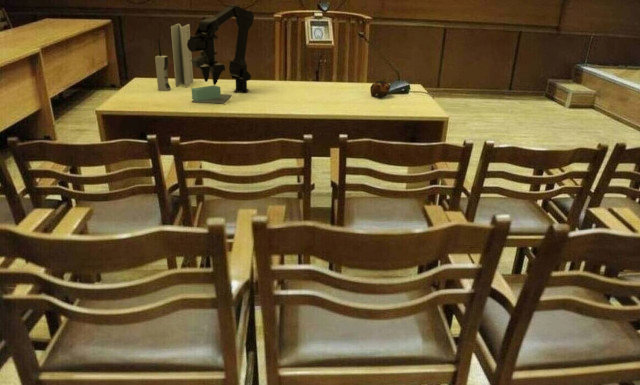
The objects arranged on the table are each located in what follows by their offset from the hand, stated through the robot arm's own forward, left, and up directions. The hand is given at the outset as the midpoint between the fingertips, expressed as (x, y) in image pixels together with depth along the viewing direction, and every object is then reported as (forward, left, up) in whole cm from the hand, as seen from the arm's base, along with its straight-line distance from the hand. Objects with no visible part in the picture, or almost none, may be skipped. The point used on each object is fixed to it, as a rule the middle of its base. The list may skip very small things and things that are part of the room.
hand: (210, 83), depth 237 cm
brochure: (-26, -21, -8) cm, 34 cm away
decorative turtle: (-23, +82, -8) cm, 86 cm away
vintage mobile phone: (-12, -27, -8) cm, 30 cm away
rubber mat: (+1, +1, -8) cm, 8 cm away
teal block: (-3, +3, -4) cm, 6 cm away
